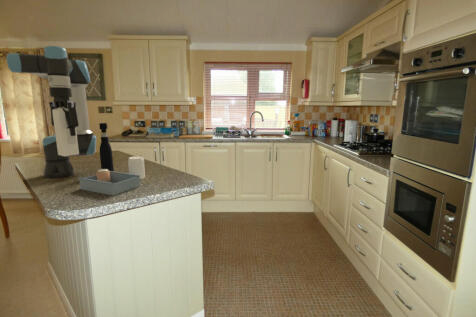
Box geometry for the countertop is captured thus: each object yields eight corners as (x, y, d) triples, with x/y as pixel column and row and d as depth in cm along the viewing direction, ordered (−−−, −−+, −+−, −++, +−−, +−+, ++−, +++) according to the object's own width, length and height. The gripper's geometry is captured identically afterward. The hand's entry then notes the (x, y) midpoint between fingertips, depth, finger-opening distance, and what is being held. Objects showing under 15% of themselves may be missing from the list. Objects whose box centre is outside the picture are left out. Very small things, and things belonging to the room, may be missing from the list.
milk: (73, 153, 121) (67, 102, 116) (79, 154, 117) (73, 102, 113) (57, 154, 116) (50, 102, 111) (63, 156, 112) (57, 102, 108)
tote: (79, 190, 130) (78, 178, 129) (109, 181, 144) (108, 170, 143) (113, 197, 120) (111, 183, 119) (140, 187, 135) (139, 175, 134)
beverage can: (140, 181, 145) (138, 159, 143) (126, 180, 147) (124, 158, 145) (147, 177, 153) (146, 156, 151) (135, 176, 155) (133, 155, 152)
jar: (94, 186, 134) (93, 170, 133) (104, 183, 139) (103, 168, 138) (103, 187, 132) (102, 171, 131) (113, 184, 137) (112, 169, 136)
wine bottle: (106, 176, 154) (101, 123, 148) (99, 175, 157) (94, 123, 152) (116, 174, 159) (111, 123, 154) (109, 173, 163) (105, 122, 157)
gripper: (36, 87, 112) (44, 142, 116) (66, 86, 103) (73, 145, 108) (54, 88, 118) (61, 140, 123) (84, 87, 110) (90, 143, 115)
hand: (67, 142), depth 115 cm, fingers closed on milk, 7 cm apart
